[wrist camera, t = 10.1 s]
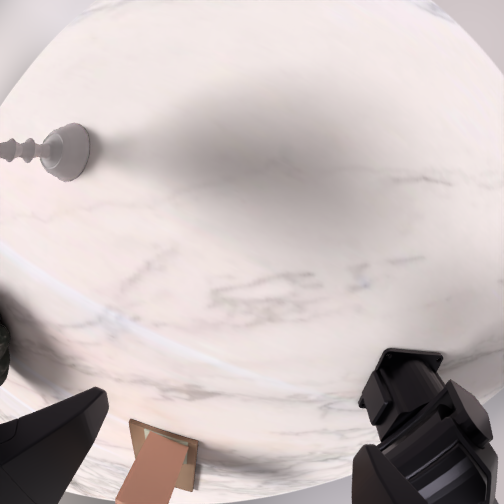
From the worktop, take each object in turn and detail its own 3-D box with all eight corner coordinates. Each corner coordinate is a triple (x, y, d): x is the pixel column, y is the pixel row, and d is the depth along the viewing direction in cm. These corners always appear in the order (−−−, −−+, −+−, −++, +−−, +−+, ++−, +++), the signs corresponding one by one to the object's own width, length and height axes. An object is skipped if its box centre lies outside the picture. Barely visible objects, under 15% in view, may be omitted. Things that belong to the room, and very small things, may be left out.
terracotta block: (188, 446, 25) (162, 519, 15) (181, 463, 26) (157, 527, 16) (150, 430, 25) (115, 498, 15) (146, 448, 26) (115, 509, 16)
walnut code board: (198, 440, 25) (196, 446, 24) (193, 489, 29) (191, 493, 28) (130, 418, 26) (127, 423, 25) (140, 472, 29) (138, 476, 28)
